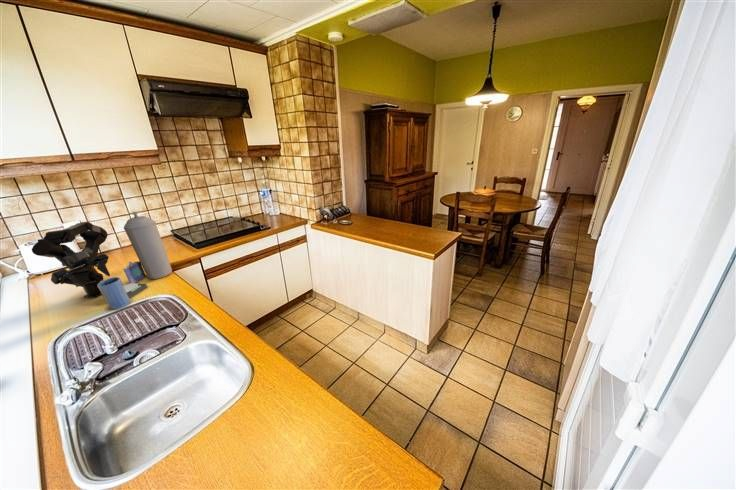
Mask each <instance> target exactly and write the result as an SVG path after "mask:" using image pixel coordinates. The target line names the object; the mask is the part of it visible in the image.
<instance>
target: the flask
mask: <svg viewBox="0 0 736 490" xmlns="http://www.w3.org/2000/svg"><path fill="white" fill-rule="evenodd" d="M127 264H128V265H127V266H125V267H124V268H123V272H124V274H125V276H126V278H127V280H128V282H129V283H128V284H131V283H138V282H140V281H141V280H142V279H144V278H146V277H147V275H146V273H145V271H144V269H143V267H142V265H141V263H140V261H139V260H135V261H134V262H132V261H127Z"/></svg>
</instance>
